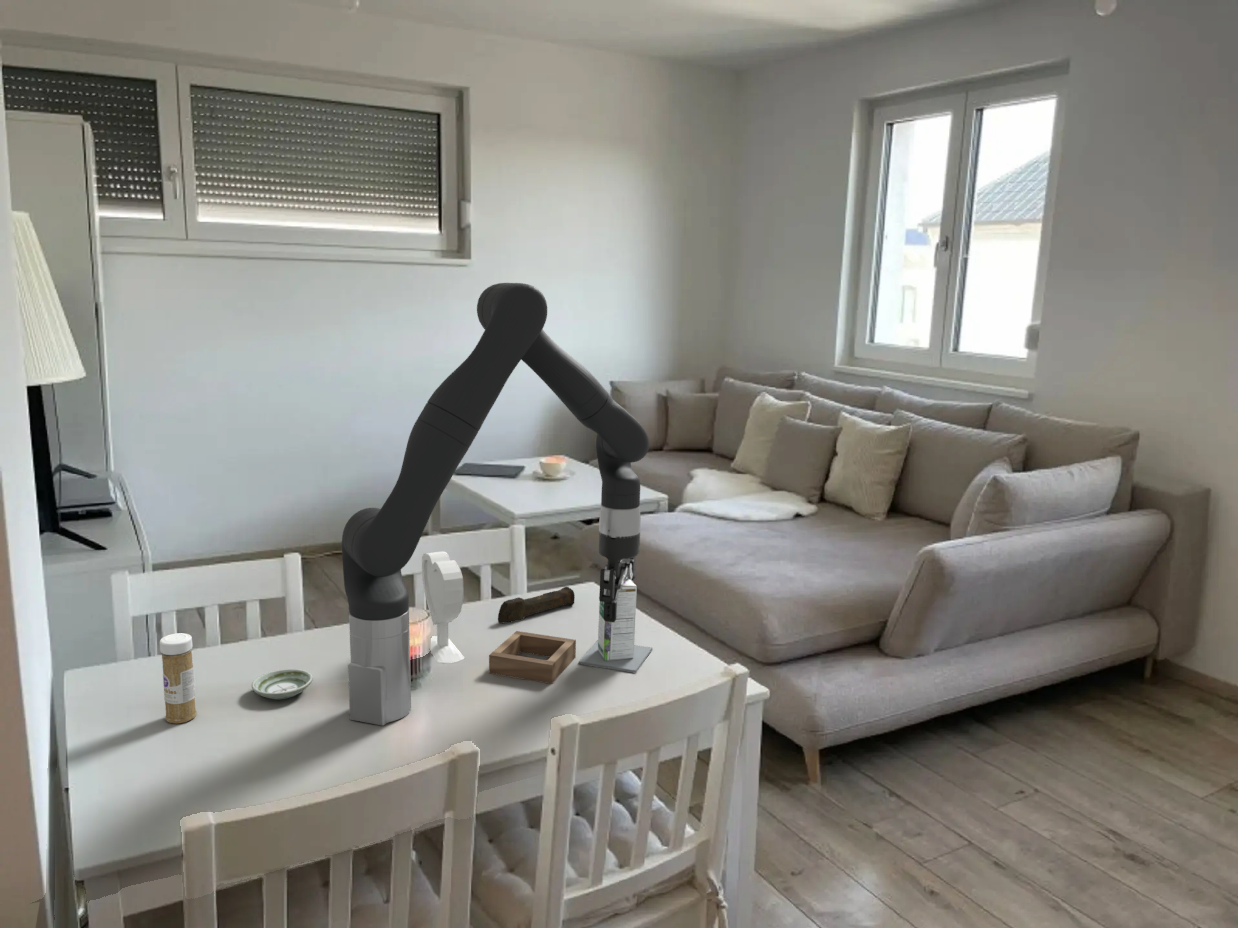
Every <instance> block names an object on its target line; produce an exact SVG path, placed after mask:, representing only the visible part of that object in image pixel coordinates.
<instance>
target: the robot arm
mask: <svg viewBox="0 0 1238 928" xmlns="http://www.w3.org/2000/svg"><path fill="white" fill-rule="evenodd" d="M476 314H477V318H478V322H479V323H480V325H481V327H482V328H483V329H484V331H483V332H482V335H481V337H480V338H479V341H478V342H477V344H476V346H475V347H474V348H473V350H472V351H471V353H470V354H469V355H468V356H467V358H465V360H463V362H462V363H461V364H460V365H458V367H457V368H456V369H454V371H452V372H451V373H450V374H449V375H448V376H447V377H446V378H445V379H444V380H443V381H442V383H440V384H439V386H438V387H437V388H436V389H435V390H434V391H433V393H432V394H431V396H430V397H429V399H428V400H427V403H426V404H425V405H424V407H423V409H422V410H421V411H420V413H419V416H418V417H417V419H416V421H415V423H414V424H413V426H412V429H411V431H410V434H409V436H408V440H407V443H406V448H405V451H404V457H403V460H402V465H401V467H400V468H401V469H400V472H399V475H398V478H397V480H396V482H395V484H394V487H393V489H392V490H391V492H390V494H389V495H388V497H387V498H386V500H385V502H384V503H383V505H382V507H381V508H378V507H366V508H363V509H360V510H359V511H357V512H355V513H353V515H352V516H351V517H350V518H349V519H348V520H347V522H346V523H345V524H344V525H345V526H344V529H343V531H342V537H341V556H342V557H341V558H342V570H343V571H342V572H343V585H344V591H345V595H346V599H347V602H348V622H349V649H350V654H349V655H350V662H349V663H348V664H347V671H348V673H347V676H348V677H347V678H348V698H349V699H348V703H349V720H351V721H358V722H360V723H362V722H363V723H367V724H373V725H377V726H385V725H386V724H389V723H391V722H395V721H398V720H400V719H402V718H404V717H406V716H407V715H408V714H409V713H410V712H411V710H412V693H411V692H412V689H411V688H412V687H411V686H412V685H411V681H412V680H411V647H410V645H411V643H410V596H409V592H408V590H407V587H406V584H405V581H404V579H403V575H402V569H403V568H404V567H405V566H406V565H407V564H408V563H409V562H410V560H411V559H412V556H413V555H414V552H415V551H416V549H417V547H418V545H419V543H420V540H421V537H422V536H423V533H424V531H425V528H426V526H427V524H428V522H429V520H430V518H431V515H432V513H433V511H434V509H435V507H436V505H437V503H438V501H439V499H440V498H441V496H442V494H443V493H444V491H445V489H446V488H447V486H448V485H449V483H450V481H451V480H452V478H453V476H454V474H455V472H456V471H457V469H458V467H459V465H460V464H461V462H462V460H463V459H464V457H465V456H466V454H467V452H468V451H469V448H470V447H471V446H472V444H473V442H474V440H475V439H476V437H477V435H478V433H479V432H480V430H481V428H482V426H483V424H484V422H485V420H486V418H487V417H488V415H489V413H490V411H491V410H492V408H493V406H494V405H495V403H496V401H497V399H498V398H499V395H501V394H500V393H502V390H503V389H504V387H505V385H506V384H507V381H508V379H509V378H510V376H511V375H512V374H513V372H514V370H515V369H516V367H517V366H518V365H519V363H520V362H521V361H522V362H523V363H525V364H526V366H528V367H529V368H530V369H531V370H532V371H533V372H534V373H535V374H536V375H537V376H538V377H539V378H540V379H541V380H542V381H543V383H544V384H546V386H547V387H548V388H549V389H550V390H551V392H553V394H555V396H556V397H558V399H559V400H560V401H561V402H562V404H563V405H564V406H565V407H566V408H567V409H568V411H570V413H572V415H573V416H574V417H575V418H576V419H577V420H578V421H579V422H580V423H581V424H582V425H583V426H584V427H586V428H588V429H589V430H591V431H593V432H595V433H596V437H595V453H596V459H597V466H598V469H599V475H600V478H601V498H600V499H601V500H600V501H601V502H600V511H599V521H598V522H599V523H598V524H599V525H598V553H599V555H600V556H601V557H605V558H606V559H607V564H605V566H604V567H605V568H601V569H600V572H599V573H600V578H599V596H598V601H599V602H600V601H601V602H604V621H607V622H615V621H616V613H617V598H618V593H619V592H620V591H622V587H623V583H624V580H625V579H626V577H627V578H629V579H631V580H632V581H633V582H634V581H635V580H636V557H638V556H639V554H640V549H641V548H640V547H641V546H640V545H641V523H642V522H641V519H642V518H641V507H640V506H641V479H640V478H639V476H638V474H636V472H635V471H634V470H633V468H632V465H631V463H632V464H633V463H636V462H639V461H641V460H643V459H644V458H645V456H647V454H648V452H649V449H650V438H649V436H648V433H647V431H646V429H645V427H643V425H642V423H640V422H639V421H638V419H636V418H635V417H634V416H633V415H632V414H630V412H629V411H627V410H626V409H625V408H624V407H623V406H621V405H620V404H619V403H618V402H617V401H616V400H614V399H613V397H612V396H611V395H610V393H609V392H608V391H607V389H605V388H604V387H603V385H602V384H601V383H600V382H599V380H598V379H597V378H596V377H595V376H594V375H593V374H592V373H591V372H590V371H589V370H588V369H587V368H586V367H585V366H584V365H582V363H581V362H579V361H578V360H577V359H575V357H573V356H572V355H570V354H568V352H567V351H565V350H564V349H563V348H562V347H560V345H558V344H557V343H556V342H555V341H554V340H553V339H552V338H551V337H550V336H549V335H548V334H547V332H546V331H545V330H544V327H545V324H546V322H547V317H548V302H547V300H546V297H545V295H544V294H543V293H542V291H541V290H540V289H539V288H537V287H535V285H534V286H533V285H531V284H527V283H522V282H499V283H495V284H491V285H489V286H488V287H487V288H485V289H484V290H483V291H482V292H481V293H480V296H479V297H478V299H477V304H476ZM615 584H617V585H615ZM608 590H610V596H609V595H608Z"/></svg>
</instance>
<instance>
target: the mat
mask: <svg viewBox="0 0 1238 928" xmlns="http://www.w3.org/2000/svg"><path fill="white" fill-rule="evenodd" d="M652 651H653V647H650V646H644V645H637V644H634V658H629V659H620V660H610V661H605V660H604V658H603V657H602V655H601V654H600V652H599V650H598V639H597V640H596V641H595V642H594V643H593V644H592V645H591V647H590V648H589V649H588V650H587V651H586V652H585V654H583V656H581V658H580V659H579V660H578V665H583V666H590V667H596V668H602V669H609V670H614V671H619V672H620V671H622V672H628V673H634V674H636V673H638V671H639V670H640V668H641V667H642V665H643V664H644V663H645V662H646V659H647V658H648V657H649V655H650V654H651V652H652Z"/></svg>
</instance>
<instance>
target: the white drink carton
mask: <svg viewBox="0 0 1238 928" xmlns="http://www.w3.org/2000/svg"><path fill="white" fill-rule="evenodd" d="M615 585H617V584H615ZM637 590H638V589H637V585H636V584H635V583H634V581H632V580H631V579H629V578H627V577H626V579H625V580H624V583H623V587H622V591H620V592H619V593H618V598H617V613H616V621H615V622H607V621H604V602H601V601H599V603H598V604H599V605H598V626H597V627H598V629H597V630H598V631H597V632H598V633H597V636H598V637H597V640H598V650H599V652H600V654H601V655H602V657H603V658H604V660H605V661H610V660H620V659H629V658H634V645H635V633H636V613H637V612H636V611H637V592H638V591H637ZM608 595H609V596H610V590H608Z"/></svg>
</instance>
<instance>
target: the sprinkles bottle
mask: <svg viewBox="0 0 1238 928" xmlns="http://www.w3.org/2000/svg"><path fill="white" fill-rule="evenodd" d="M192 651H193V637H192V635H190V634H189V633H186V632H185V633H184V632H183V633H181V632H180V633H179V632H178V633H171V634H168V635H164V636H163V637H161V639H160V640H159V652H160V654H161V659H162V660H161V661H162V673H163V674H162V678H163V679H162V681H163V682H162V683H163V693H164V694H163V697H164V703H165V716H164V717H165V720H166V722H168V723H169V724H184V723H186V722H189V721H191V720H193V719H195V718H196V717H197V715H198V714H197V713H198V712H197V708H196V689H195V688H196V686H195V673H194V663H193V653H192Z"/></svg>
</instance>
